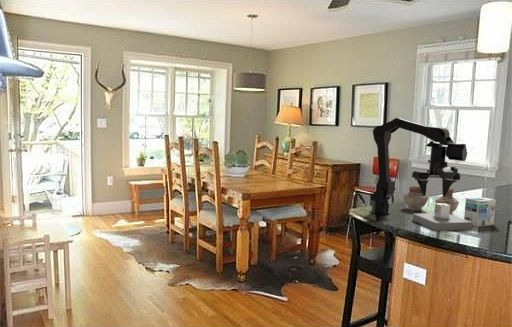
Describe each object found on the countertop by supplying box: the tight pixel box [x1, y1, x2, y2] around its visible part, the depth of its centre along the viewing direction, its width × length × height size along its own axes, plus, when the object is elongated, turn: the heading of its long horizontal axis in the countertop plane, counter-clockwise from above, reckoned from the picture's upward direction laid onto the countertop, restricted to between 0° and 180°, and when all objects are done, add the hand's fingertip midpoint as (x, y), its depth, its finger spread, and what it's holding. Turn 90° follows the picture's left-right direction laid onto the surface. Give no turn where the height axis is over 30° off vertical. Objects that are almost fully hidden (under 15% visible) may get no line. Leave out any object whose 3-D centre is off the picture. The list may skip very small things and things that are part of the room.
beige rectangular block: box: [434, 202, 450, 220], centre depth 175 cm, size 4×4×8 cm
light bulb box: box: [463, 196, 497, 227], centre depth 179 cm, size 11×7×11 cm, turn 116°
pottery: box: [402, 185, 460, 215], centre depth 200 cm, size 11×25×12 cm, turn 49°
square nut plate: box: [412, 212, 473, 231], centre depth 175 cm, size 16×16×3 cm
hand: (434, 196), depth 177 cm, fingers open, 9 cm apart
